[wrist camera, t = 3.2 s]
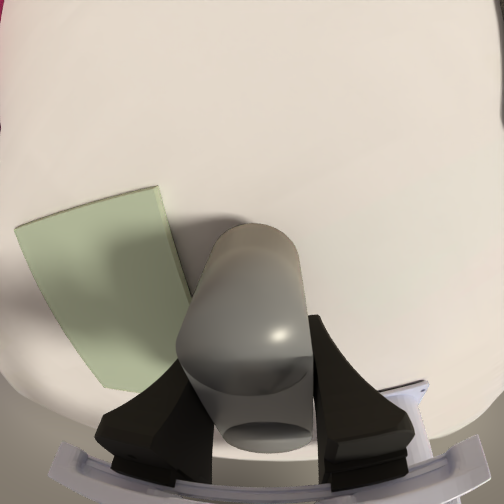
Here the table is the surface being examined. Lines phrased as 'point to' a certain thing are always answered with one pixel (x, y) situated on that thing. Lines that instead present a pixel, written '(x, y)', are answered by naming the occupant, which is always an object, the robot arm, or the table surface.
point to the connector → (252, 341)
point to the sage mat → (112, 284)
